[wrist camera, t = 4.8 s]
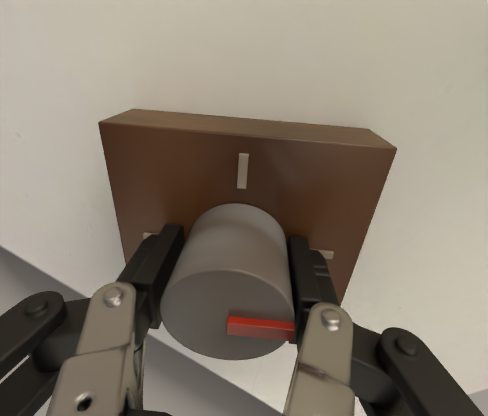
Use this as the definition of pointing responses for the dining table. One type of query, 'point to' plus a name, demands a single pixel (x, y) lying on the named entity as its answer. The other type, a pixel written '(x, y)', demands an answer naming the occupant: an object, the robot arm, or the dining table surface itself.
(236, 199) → the panel
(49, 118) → the dining table surface
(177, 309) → the volume knob
